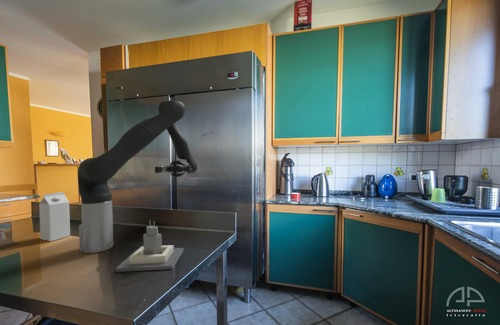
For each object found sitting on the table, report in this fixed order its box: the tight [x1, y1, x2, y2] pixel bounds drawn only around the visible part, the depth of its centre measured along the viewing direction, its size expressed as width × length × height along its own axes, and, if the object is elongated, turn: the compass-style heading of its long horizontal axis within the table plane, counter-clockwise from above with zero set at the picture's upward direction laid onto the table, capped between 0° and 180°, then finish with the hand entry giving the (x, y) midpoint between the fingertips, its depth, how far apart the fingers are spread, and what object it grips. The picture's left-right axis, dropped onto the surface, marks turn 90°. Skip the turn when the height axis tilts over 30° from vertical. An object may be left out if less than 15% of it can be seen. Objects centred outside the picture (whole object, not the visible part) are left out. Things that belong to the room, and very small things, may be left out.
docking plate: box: [115, 244, 184, 273], centre depth 70 cm, size 16×13×3 cm
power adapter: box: [142, 221, 163, 255], centre depth 70 cm, size 3×5×12 cm, turn 64°
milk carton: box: [38, 191, 71, 242], centre depth 93 cm, size 7×7×19 cm
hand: (168, 169), depth 88 cm, fingers open, 8 cm apart
